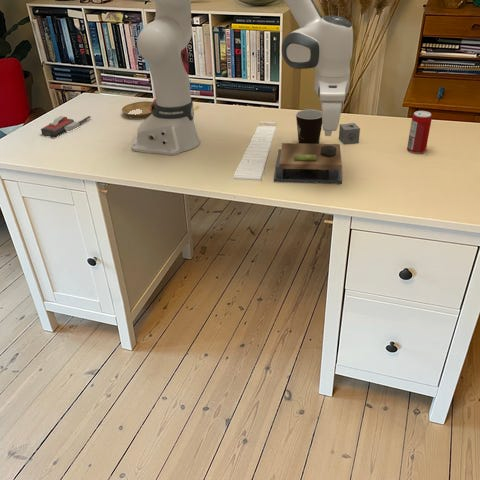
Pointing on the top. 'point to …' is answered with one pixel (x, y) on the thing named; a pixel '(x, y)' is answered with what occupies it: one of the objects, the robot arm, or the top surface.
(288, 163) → the levelling board
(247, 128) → the top surface
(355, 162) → the top surface
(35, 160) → the top surface
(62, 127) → the toy chainsaw
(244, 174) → the keyboard
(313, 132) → the coffee mug
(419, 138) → the soda can
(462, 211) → the top surface
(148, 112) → the plant saucer
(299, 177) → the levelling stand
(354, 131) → the dice cube
